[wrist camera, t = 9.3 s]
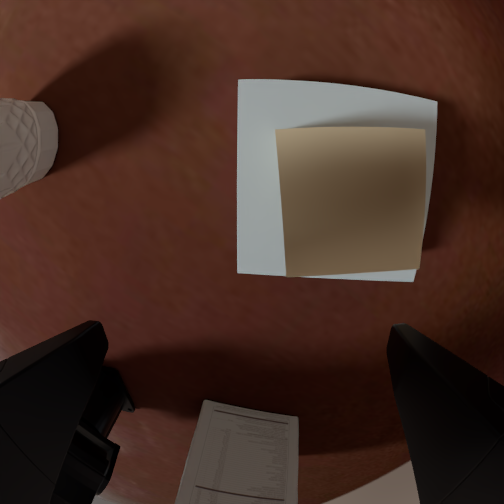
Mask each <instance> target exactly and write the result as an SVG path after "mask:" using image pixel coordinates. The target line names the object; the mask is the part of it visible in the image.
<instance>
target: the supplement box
mask: <svg viewBox="0 0 504 504" xmlns="http://www.w3.org/2000/svg"><path fill="white" fill-rule="evenodd" d="M298 429H299V423H298V417H296V416H288V415H281V414H275V413H269V412H263V411H257V410H252V409H246V408H241V407H236V406H231V405H227V404H222V403H218V402H213V401H209V400H204V401H203V404H202V408H201V412H200V415H199V419H198V423H197V426H196V430H195V433H194V436H193V439H192V443H191V446H190V450H189V453H188V457H187V460H186V464H185V468H184V472H183V475H182V479H181V483H180V486H179V490H178V494H177V498H176V501H175V504H298V491H297V483H298V437H299V430H298Z"/></svg>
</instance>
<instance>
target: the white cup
mask: <svg viewBox="0 0 504 504" xmlns="http://www.w3.org/2000/svg"><path fill="white" fill-rule="evenodd" d="M57 149H58V127H57V123H56V120H55V117H54V114H53V112H52V111H51V109H50V108H49V107H48V106H47V105H46V104H45V103H44V102H39V101H24V100H17V99H13V98H9V99H6V98H0V199H1V198H3V197H5V196H7V195H9V194H11V193H13V192H16V191H17V190H18V189H19V188H21V187H23V186H25V185H27V184H29V183H32V182H34V181H37V180H40V179H42V178H43V177H44V176H45V175H46V173H47V172H48V171H49V170H50V168H51V167H52V166H53V162H54V159H55V156H56V152H57Z"/></svg>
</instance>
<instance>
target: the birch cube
mask: <svg viewBox="0 0 504 504" xmlns="http://www.w3.org/2000/svg"><path fill="white" fill-rule="evenodd" d="M275 136H276V146H277V158H278V169H279V181H280V194H281V207H282V220H283V235H284V250H285V266H286V277H301V276H320V275H338V274H354V273H370V272H384V271H398V270H412V269H419V267H420V259H421V250H422V241H423V229H424V216H425V197H426V135H425V129H414V128H395V127H310V128H290V129H275Z"/></svg>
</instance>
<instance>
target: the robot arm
mask: <svg viewBox="0 0 504 504" xmlns="http://www.w3.org/2000/svg"><path fill="white" fill-rule="evenodd" d="M107 350H108V340H107V337H106V334H105V331H104V328H103V326H102V324H101V322H99V321H92V320H89V321H87V322H85V323H82V324H80V325H78V326H76V327H74V328H72V329H69V330H67V331H65V332H63V333H61V334H59V335H56V336H54V337H52V338H50V339H48V340H46V341H44V342H41V343H39V344H37V345H35V346H33V347H31V348H28V349H26V350H24V351H22V352H20V353H18V354H16V355H13V356H11V357H9V358H8V359H5V360H3V361H1V362H0V504H91V503H92V501H93V499H94V496H95V495H99V494H101V493H102V492H103V490H104V489H105V488H106V486H107V484H108V483H109V481H110V478H111V476H112V473H113V469H114V466H115V463H116V459H117V456H118V453H119V449H120V446H119V445H118V444H116V443H113V442H112V441H110V440H109V439H107V437H108V435H109V433H110V431H111V430H112V428H113V426H114V424H115V422H116V420H117V418H118V416H119V414H120V412H121V410H123V411H127V412H132V413H133V412H134V411H135V407H134V405H133V403H132V401H131V399H130V397H129V394H128V392H127V390H126V388H125V386H124V384H123V381H122V379H121V377H120V375H119V373H118V371H117V370H115V369H113V368H108V367H102V364H103V361H104V358H105V356H106V353H107ZM387 358H388V363H389V368H390V374H391V379H392V385H393V391H394V396H395V400H396V404H397V407H398V411H399V414H400V418H401V422H402V425H403V429H404V433H405V437H406V441H407V445H408V449H409V453H410V457H411V462H412V466H413V470H414V475H415V480H416V484H417V490H418V494H419V500H420V504H504V386H503V385H501V384H499V383H498V382H496V381H495V380H493V379H492V378H490V377H487V375H486V374H484V373H483V372H481V371H479V370H478V369H476V368H475V367H473V366H472V365H470V364H469V363H467V362H466V361H464V360H462V359H461V358H459V357H458V356H456V355H455V354H453V353H452V352H450V351H448V350H447V349H445V348H444V347H442V346H441V345H439V344H437V343H436V342H434V341H433V340H431V339H430V338H428V337H426V336H425V335H423V334H422V333H420V332H418V331H417V330H415V329H414V328H412V327H411V326H409V325H407V324H405V323H404V324H394V325H393V326H392V328H391V331H390V335H389V340H388V344H387Z"/></svg>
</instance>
